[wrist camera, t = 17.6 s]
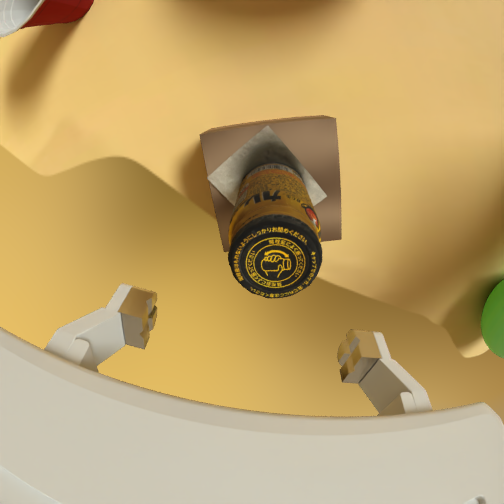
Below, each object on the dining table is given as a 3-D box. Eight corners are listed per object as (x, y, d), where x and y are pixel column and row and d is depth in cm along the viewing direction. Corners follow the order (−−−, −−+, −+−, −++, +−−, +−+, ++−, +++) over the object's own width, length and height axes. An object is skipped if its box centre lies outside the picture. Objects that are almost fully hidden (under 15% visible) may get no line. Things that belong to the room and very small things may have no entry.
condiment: (267, 239, 28) (266, 327, 18) (207, 177, 25) (165, 237, 15) (326, 195, 26) (365, 265, 15) (267, 124, 23) (268, 144, 12)
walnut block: (211, 128, 28) (199, 134, 23) (322, 115, 27) (335, 118, 22) (230, 226, 34) (224, 251, 29) (329, 216, 33) (341, 239, 28)
